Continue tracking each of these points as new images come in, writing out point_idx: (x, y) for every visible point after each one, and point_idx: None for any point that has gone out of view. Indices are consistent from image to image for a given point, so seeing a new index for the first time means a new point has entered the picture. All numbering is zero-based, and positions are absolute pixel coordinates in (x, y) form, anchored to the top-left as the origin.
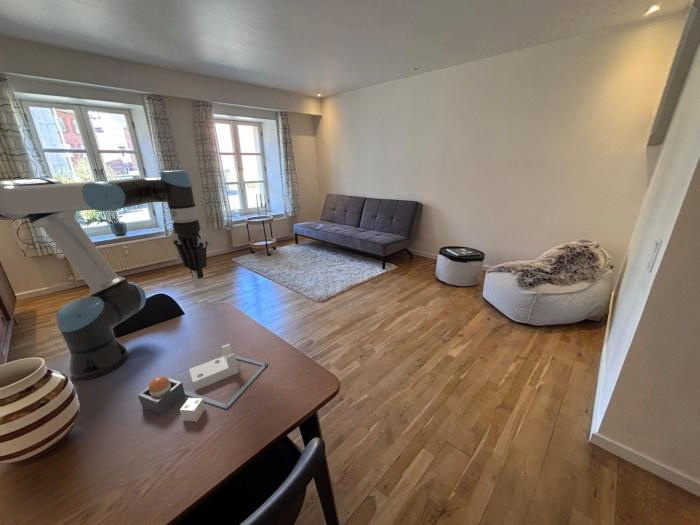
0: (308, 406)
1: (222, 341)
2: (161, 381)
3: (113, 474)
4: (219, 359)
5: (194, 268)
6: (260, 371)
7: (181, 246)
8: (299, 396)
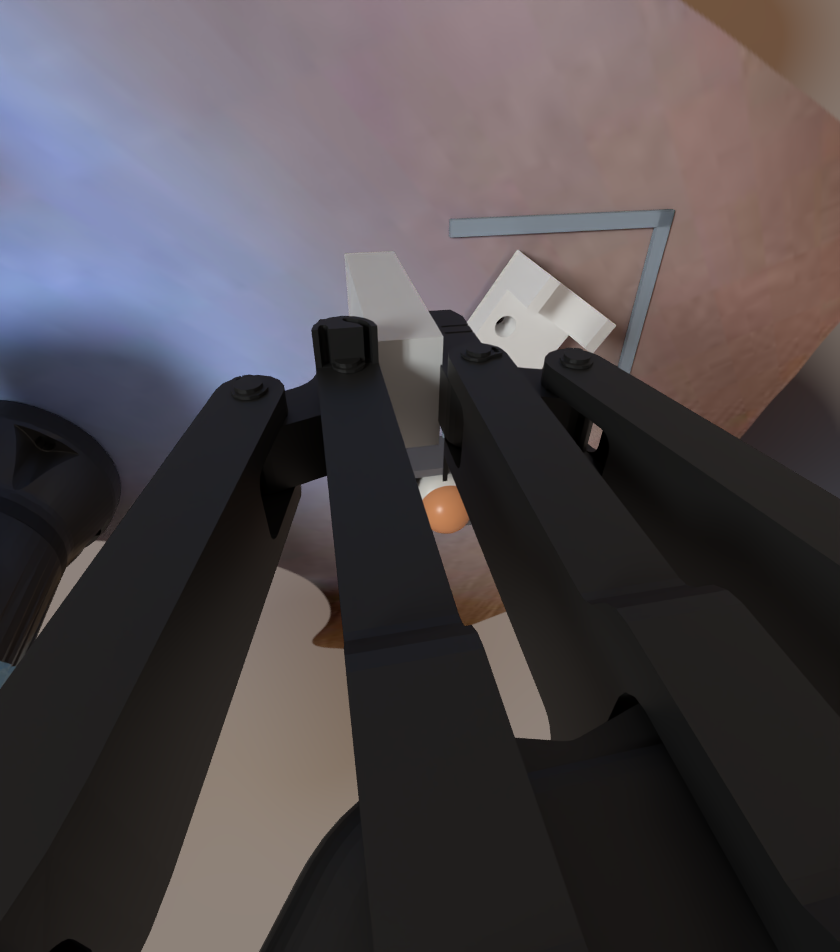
0: (831, 320)
1: (357, 131)
2: (467, 519)
3: (488, 577)
4: (505, 312)
5: (448, 459)
6: (659, 260)
7: (128, 887)
8: (806, 299)
